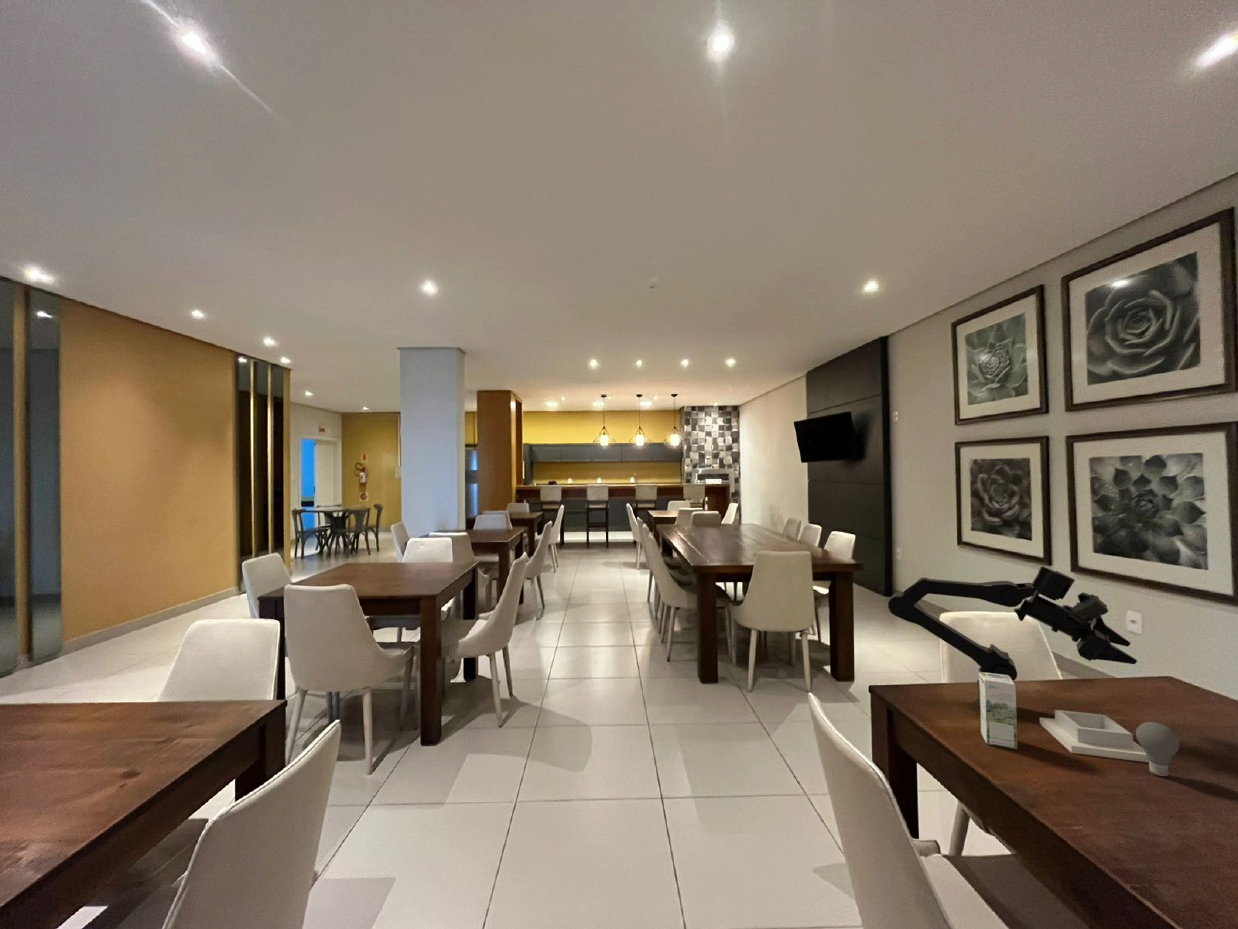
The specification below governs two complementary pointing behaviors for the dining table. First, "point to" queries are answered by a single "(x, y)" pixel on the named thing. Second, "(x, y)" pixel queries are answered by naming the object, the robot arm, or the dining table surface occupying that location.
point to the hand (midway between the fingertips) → (1132, 653)
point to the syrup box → (998, 710)
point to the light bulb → (1157, 746)
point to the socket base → (1093, 735)
